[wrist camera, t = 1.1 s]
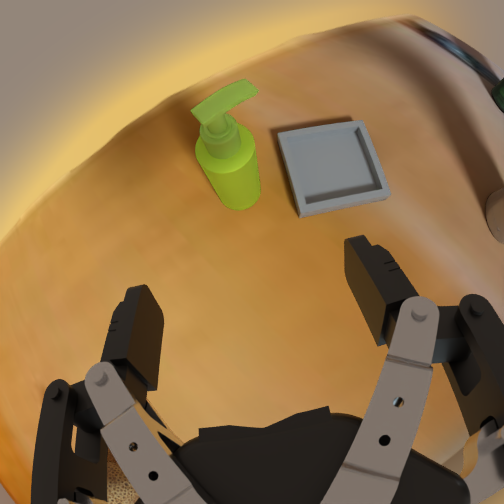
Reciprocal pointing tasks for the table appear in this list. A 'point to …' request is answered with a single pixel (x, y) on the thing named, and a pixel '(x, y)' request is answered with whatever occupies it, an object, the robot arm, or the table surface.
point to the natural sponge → (119, 486)
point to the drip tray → (332, 167)
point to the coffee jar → (499, 94)
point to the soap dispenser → (228, 147)
